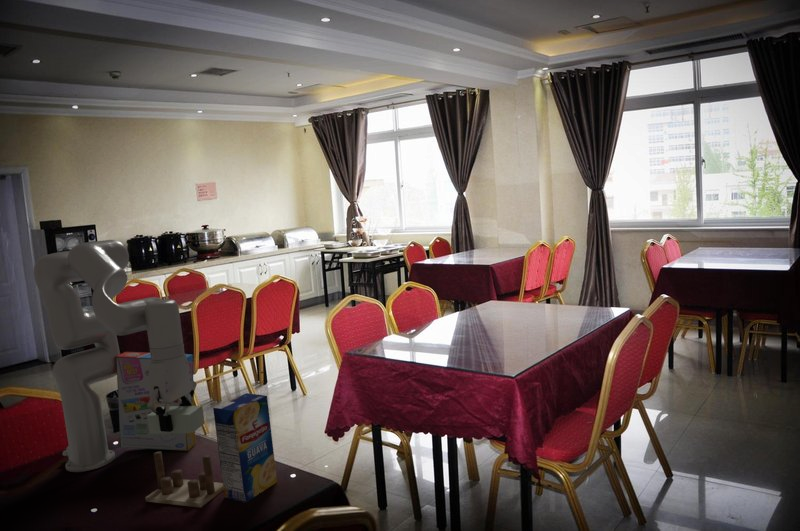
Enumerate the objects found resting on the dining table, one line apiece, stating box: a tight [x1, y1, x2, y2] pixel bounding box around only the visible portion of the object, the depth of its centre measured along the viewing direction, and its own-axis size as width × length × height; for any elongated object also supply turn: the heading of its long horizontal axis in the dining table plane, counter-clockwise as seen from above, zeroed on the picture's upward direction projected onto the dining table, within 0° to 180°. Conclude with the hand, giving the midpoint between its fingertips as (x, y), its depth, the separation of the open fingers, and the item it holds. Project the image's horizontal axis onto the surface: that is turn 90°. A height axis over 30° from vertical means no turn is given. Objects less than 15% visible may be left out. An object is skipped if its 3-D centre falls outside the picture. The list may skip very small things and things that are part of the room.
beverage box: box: [212, 392, 278, 503], centre depth 149 cm, size 7×11×22 cm, turn 149°
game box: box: [116, 351, 196, 452], centre depth 179 cm, size 21×6×27 cm, turn 84°
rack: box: [145, 450, 224, 508], centre depth 150 cm, size 16×10×10 cm, turn 70°
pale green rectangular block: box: [147, 405, 205, 434], centre depth 148 cm, size 11×6×4 cm, turn 80°
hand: (177, 424), depth 148 cm, fingers closed on pale green rectangular block, 6 cm apart
